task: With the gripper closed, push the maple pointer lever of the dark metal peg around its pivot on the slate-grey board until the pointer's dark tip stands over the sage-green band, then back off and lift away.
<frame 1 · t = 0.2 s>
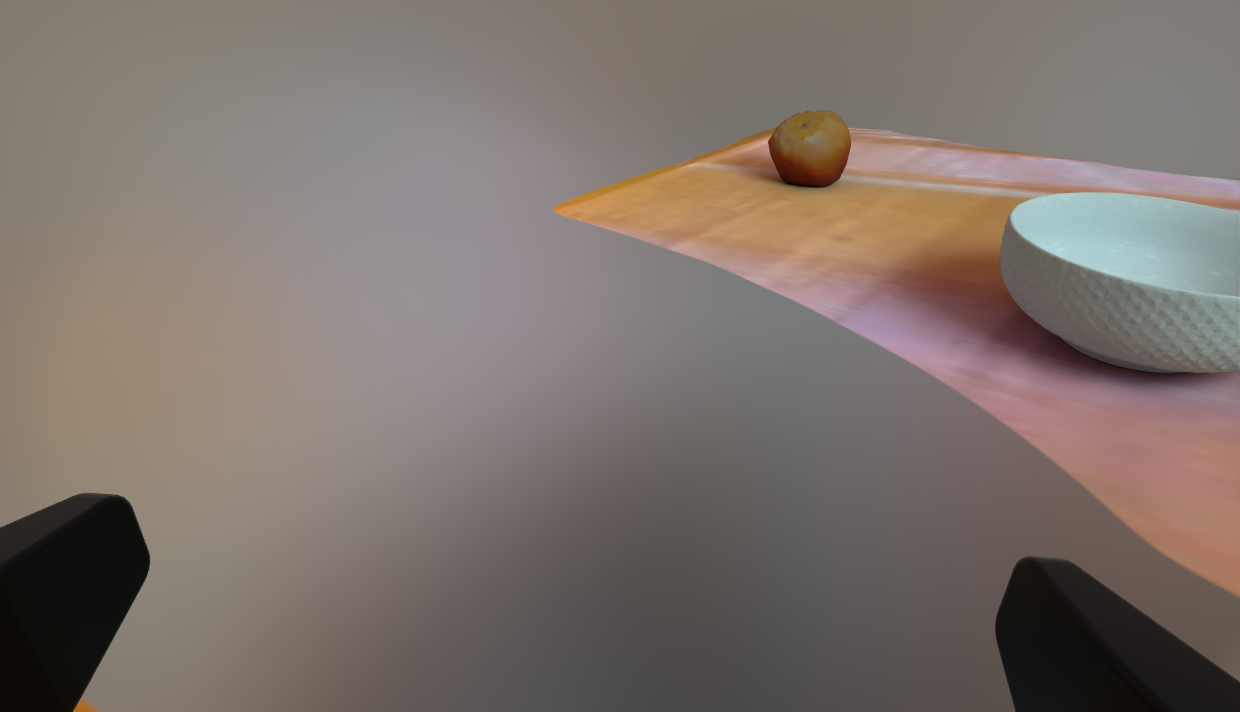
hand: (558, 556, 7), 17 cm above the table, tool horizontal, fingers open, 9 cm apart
cereal bowl: (1127, 345, 45), on the table
fruit: (805, 183, 76), on the table
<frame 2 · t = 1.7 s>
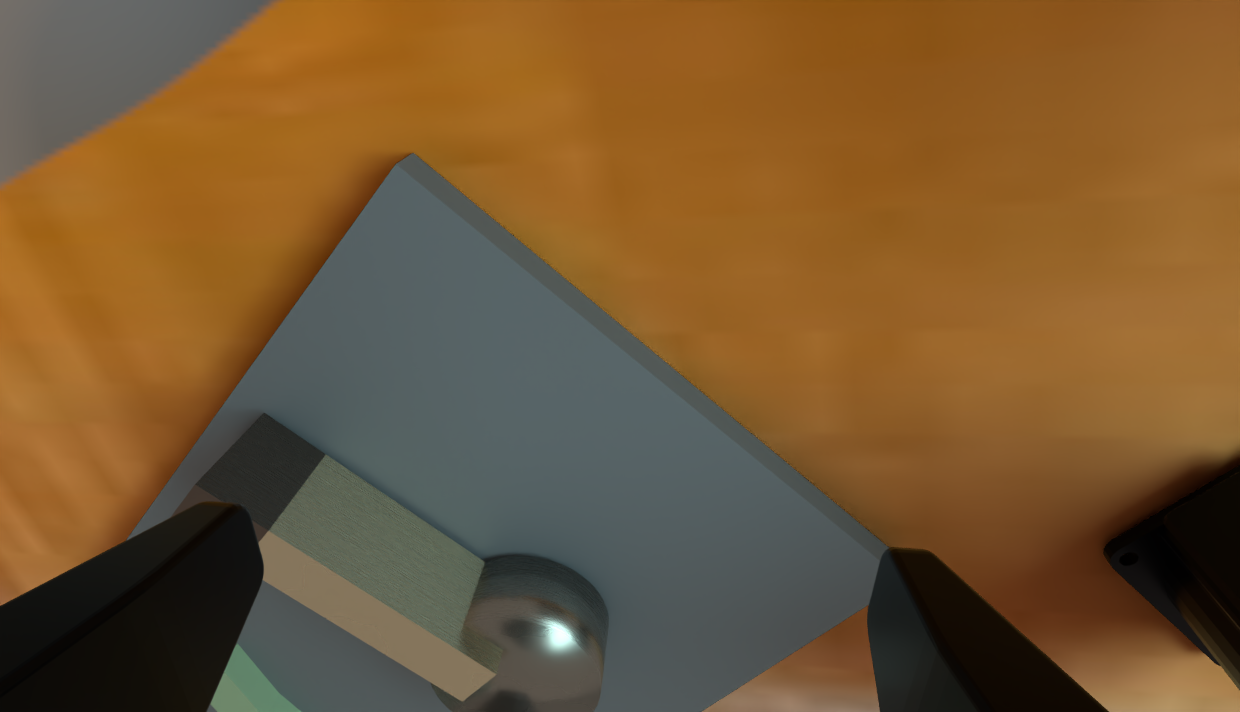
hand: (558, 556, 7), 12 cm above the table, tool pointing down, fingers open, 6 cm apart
board: (455, 582, 24), on the table
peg: (415, 590, 21), point 3 cm above the table, hinge at 0.0°
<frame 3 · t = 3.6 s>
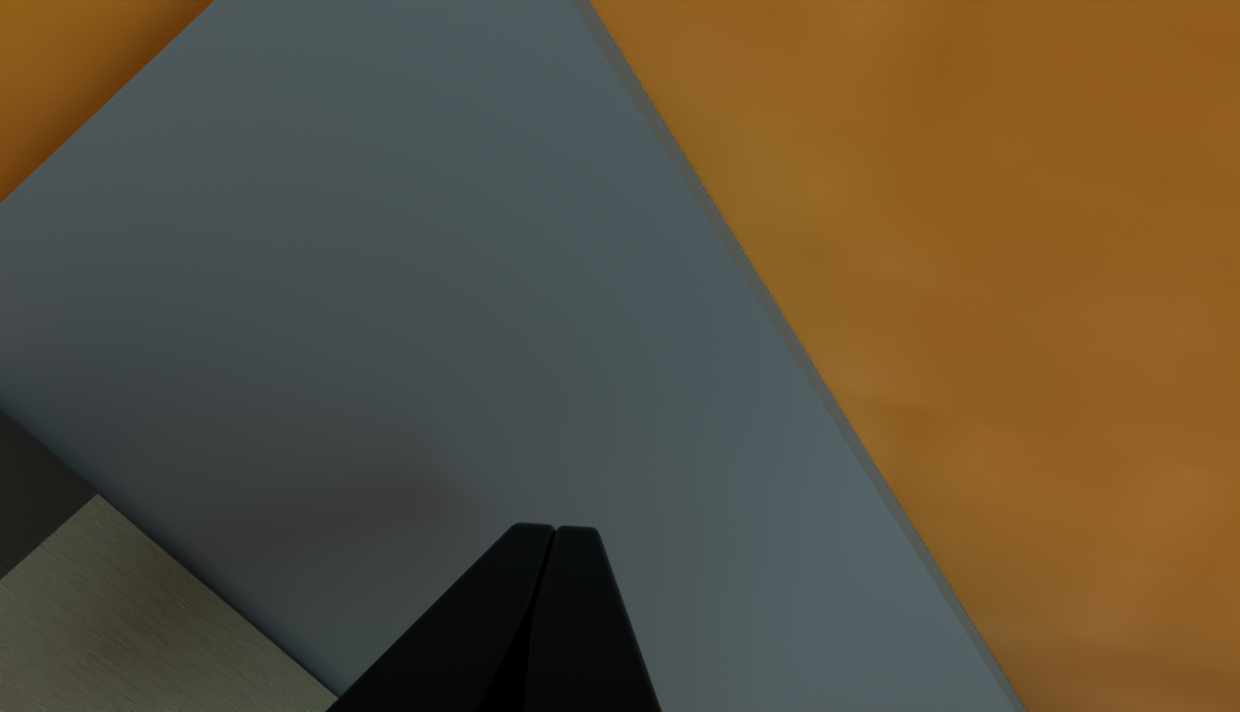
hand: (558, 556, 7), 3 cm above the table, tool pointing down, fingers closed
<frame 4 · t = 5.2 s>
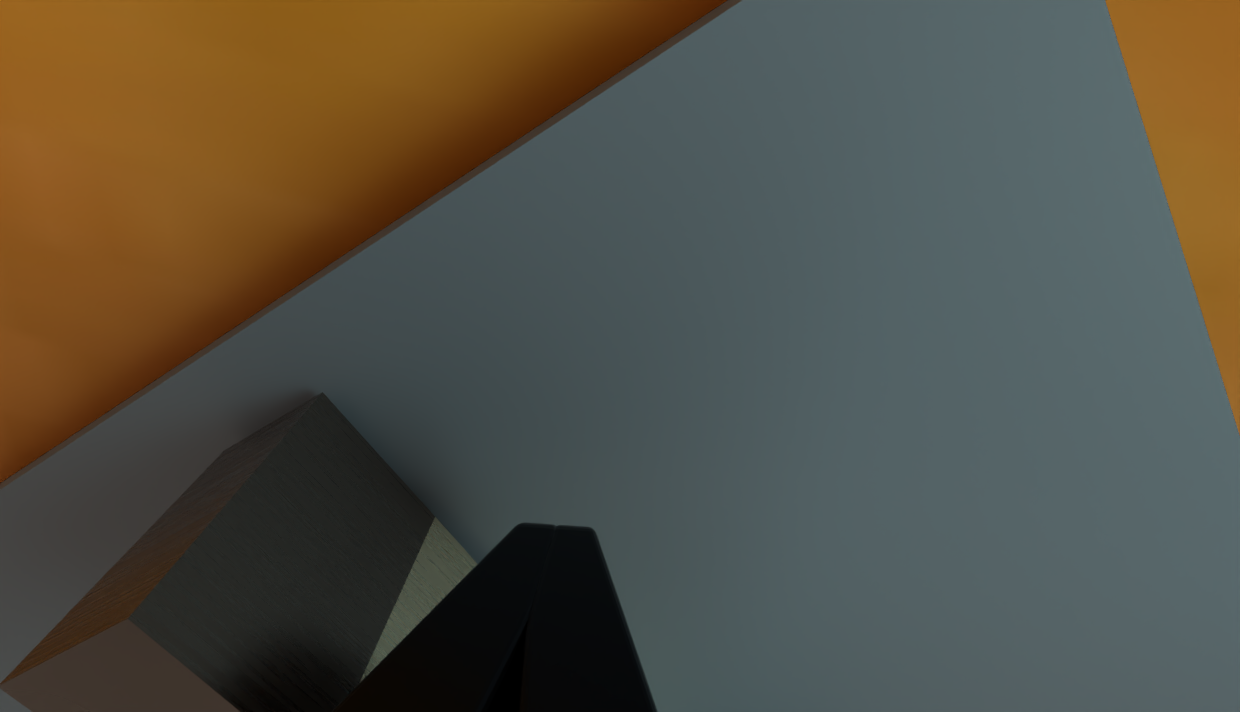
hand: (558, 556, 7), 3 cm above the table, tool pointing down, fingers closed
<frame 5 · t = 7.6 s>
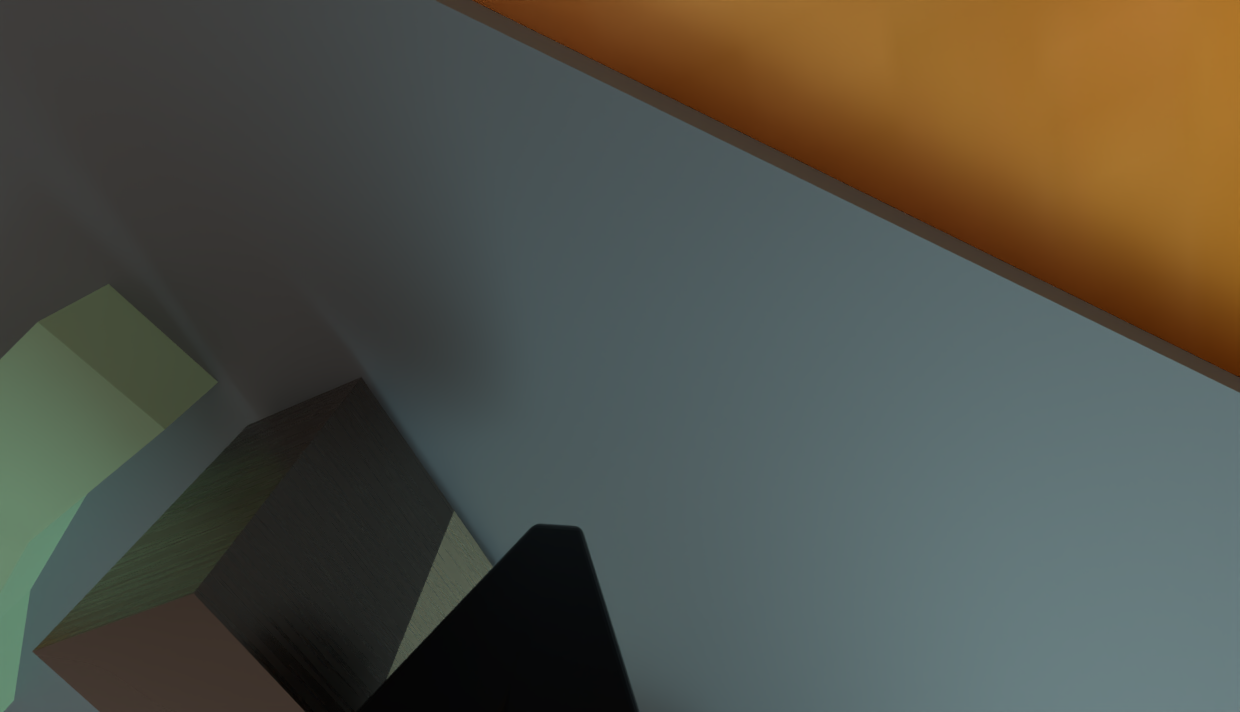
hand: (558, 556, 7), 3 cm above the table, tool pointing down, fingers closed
board: (603, 694, 12), on the table
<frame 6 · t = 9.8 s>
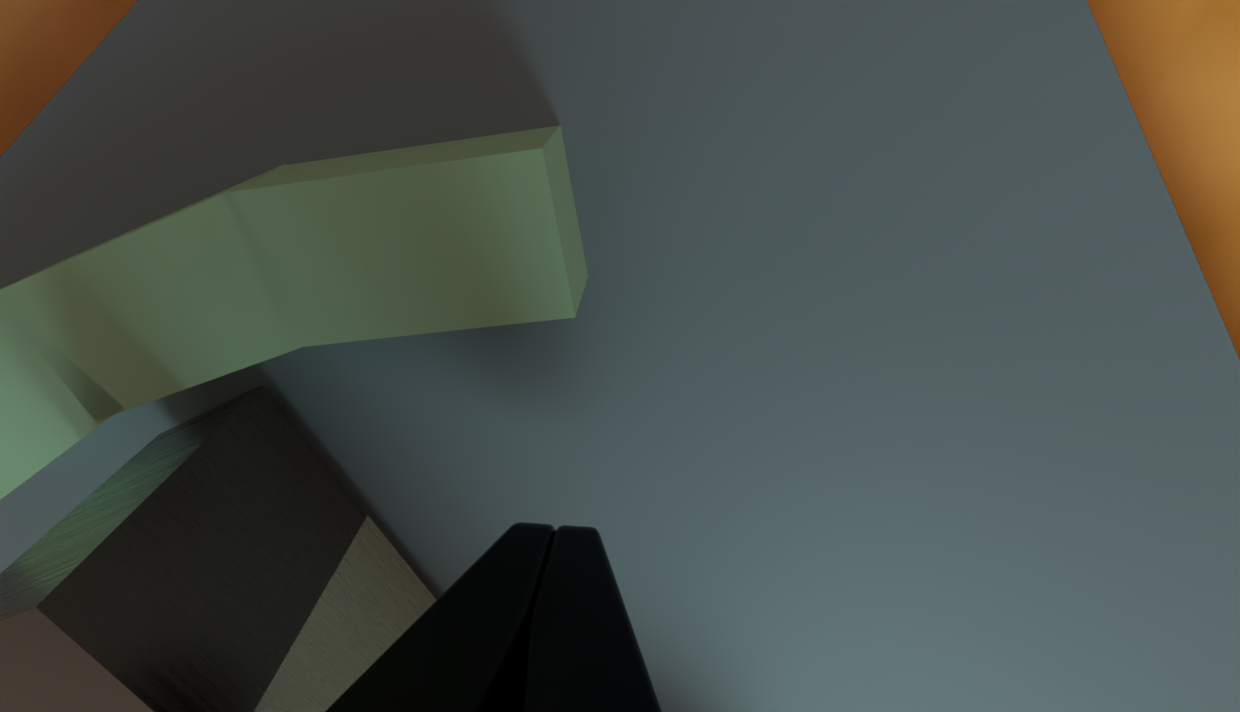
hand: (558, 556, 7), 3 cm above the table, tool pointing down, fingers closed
board: (641, 691, 12), on the table
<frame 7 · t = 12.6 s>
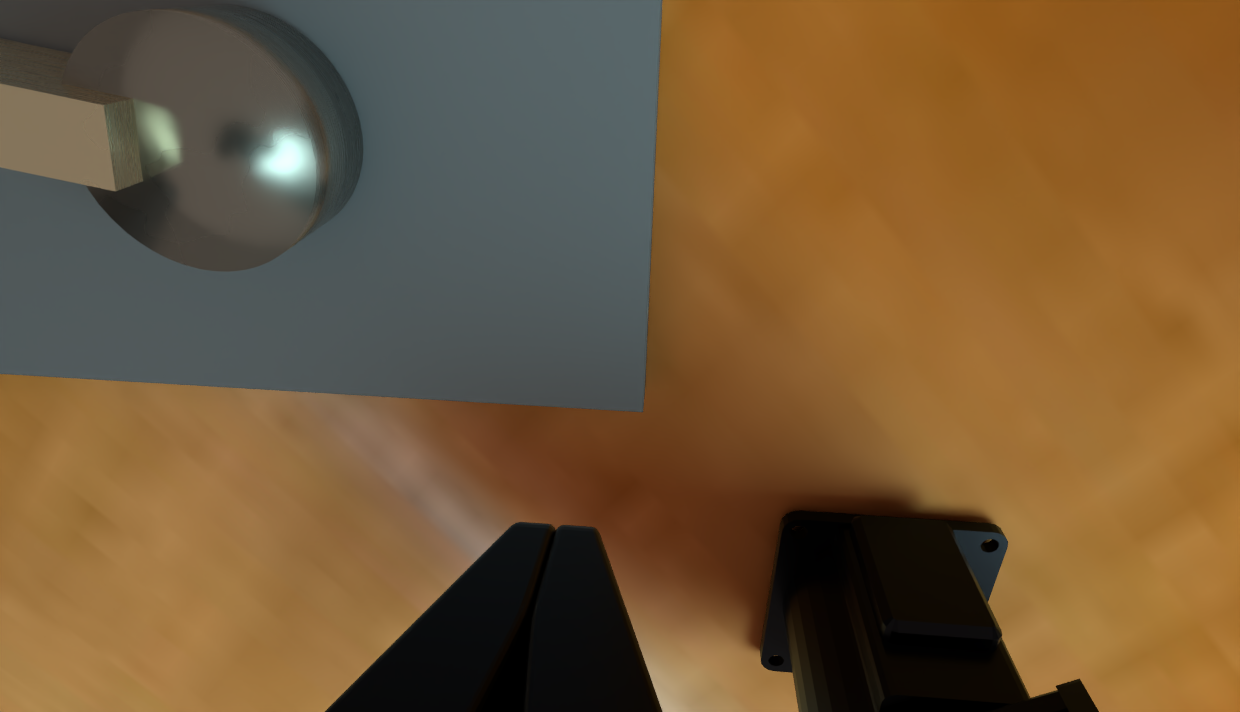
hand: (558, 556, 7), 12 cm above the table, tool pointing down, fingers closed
board: (182, 24, 17), on the table
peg: (30, 104, 15), point 3 cm above the table, hinge at 80.4°
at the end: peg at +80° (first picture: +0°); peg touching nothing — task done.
